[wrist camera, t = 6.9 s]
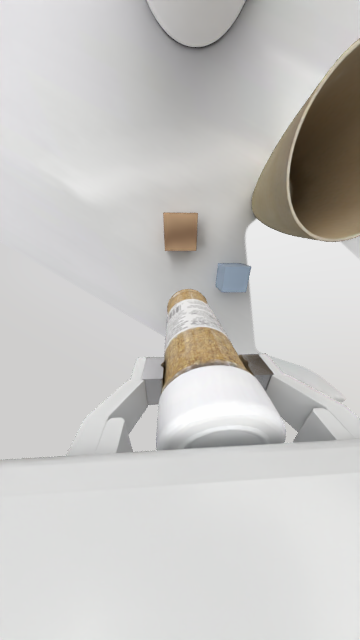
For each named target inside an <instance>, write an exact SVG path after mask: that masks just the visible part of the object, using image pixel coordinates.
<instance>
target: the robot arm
mask: <svg viewBox="0 0 360 640" xmlns="http://www.w3.org/2000/svg"><path fill="white" fill-rule="evenodd" d="M245 1H246V0H147V3H148V5H149V7H150V9H151V11H152V13H153V15H154V16H155V18H156V20H157V21H158V23H159V24H160V26H161V27H162V28H163V29H164V30H165V31H166V33H167V34H168V35H169V36H171V37H172V38H173V39H174V40H176V41H177V42H179V43H181V44H183V45H186V46H190V47H202V46H206V45H209V44H211V43H213V42H215V41H216V40H218V39H219V38H220V37H221V36H223V35H224V34H225V33H226V32H227V30H228V29H229V28H230V27H231V26H232V24H233V23H234V21H235V20H236V18H237V16H238V15H239V13H240V11H241V9H242V7H243V5H244V3H245ZM239 358H240V360H241V361H242V363H243V364H244V366H245V368H246V370H247V371H249V372H250V373H251V374H252V375H253V376H254V377H255V378H256V379H257V380H258V381H259V382H260V384H261V385H262V387H263V389H264V390H265V392H266V393H267V395H268V397H269V398H270V400H271V401H272V403H273V405H274V406H275V408H276V410H277V411H278V413H279V415H280V416H281V417H282V418H283V419H284V420H285V421H286V422H287V423H288V424H289V425H291V426H292V427H293V428H294V429H295V430H296V431H297V432H298V434H297V436H296V437H295V439H294V441H293V443H278V444H261V445H244V446H227V447H210V448H193V449H176V450H159V451H143V452H133V450H132V447H131V443H130V439H129V433H130V432H131V430H132V429H133V427H134V426H135V424H136V423H137V421H138V420H139V419H140V417H141V416H142V414H143V413H144V411H145V410H146V408H147V407H148V405H155V404H159V399H160V396H161V394H162V388H163V386H164V373H165V358H164V357H138V358H137V359H136V362H135V366H134V369H133V372H132V375H131V379H130V380H128V381H126V382H125V383H124V384H123V385H121V386H120V387H119V388H118V389H117V390H116V391H115V392H114V393H113V394H112V395H110V396H109V397H108V398H107V399H106V400H105V401H103V402H102V403H101V404H100V405H99V406H98V407H97V408H96V409H94V410H93V411H92V412H91V413H90V414H89V415H88V416H87V417H86V418H85V419H84V420H83V422H82V425H81V426H80V428H79V430H78V432H77V434H76V436H75V439H74V440H73V443H72V444H71V446H70V448H69V450H68V452H67V454H66V456H57V457H39V458H22V459H5V460H0V640H360V418H359V417H357V416H356V415H355V414H354V413H353V412H352V411H351V410H350V409H349V408H348V407H347V406H345V405H343V404H342V403H340V402H338V401H336V400H334V399H332V398H331V397H329V396H327V395H325V394H323V393H321V392H319V391H318V390H316V389H314V388H312V387H310V386H308V385H306V384H305V383H303V382H301V381H299V380H297V379H295V378H294V377H292V376H290V375H288V374H284V373H283V372H282V371H281V369H280V368H279V367H278V366H277V365H276V364H275V362H274V361H273V360H272V359H271V358H270V357H269V356H268V355H267V354H266V353H262V354H243V355H239Z"/></svg>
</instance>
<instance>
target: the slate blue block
mask: <svg viewBox="0 0 360 640" xmlns="http://www.w3.org/2000/svg"><path fill="white" fill-rule="evenodd" d="M250 270H251V267H250V266H248V265H244V264H241V263H218V270H217V279H216V287H217V288H218V289H219V290H220V291H221V292H246V289H247V284H248V280H249V275H250Z"/></svg>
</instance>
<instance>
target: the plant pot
mask: <svg viewBox="0 0 360 640" xmlns="http://www.w3.org/2000/svg"><path fill="white" fill-rule="evenodd" d="M252 210H253V213H254V215H255V217H256V218H257V219H258V220H259V221H261V222H262V223H263V224H265V225H266V226H268V227H270V228H272V229H274V230H277V231H279V232H282V233H285V234H289V235H292V236H297V237H302V238H308V239H314V240H320V241H326V242H339V241H345V240H349V239H352V238H356V237H358V236H360V38H359V39H358V40H357V41H356V42H355V43H353V44H352V45H351V46H350V47H349V48H348V49H347V50H346V51H345V52H344V53H343V54H342V55H341V57H340V58H339V59H338V60H337V61H336V62H335V64H334V65H333V66H332V67H331V68H330V70H329V71H328V72H327V74H326V75H325V77H324V78H323V79H322V81H321V82H320V83H319V85H318V86H317V87H316V89H315V90H314V92H313V93H312V94H311V96H310V97H309V98H308V100H307V101H306V103H305V104H304V105H303V107H302V108H301V110H300V111H299V112H298V114H297V115H296V117H295V118H294V119H293V121H292V122H291V124H290V125H289V127H288V128H287V130H286V131H285V133H284V134H283V136H282V138H281V139H280V141H279V142H278V144H277V146H276V147H275V149H274V151H273V152H272V154H271V156H270V158H269V159H268V161H267V163H266V165H265V167H264V169H263V171H262V173H261V175H260V177H259V179H258V182H257V184H256V187H255V189H254V192H253V196H252Z"/></svg>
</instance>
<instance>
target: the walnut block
mask: <svg viewBox="0 0 360 640" xmlns="http://www.w3.org/2000/svg"><path fill="white" fill-rule="evenodd" d="M163 215H164V239H165V251H196V245H197V220H198V213H163Z"/></svg>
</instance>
